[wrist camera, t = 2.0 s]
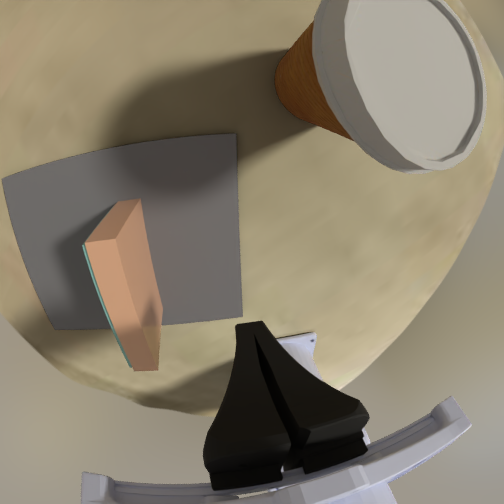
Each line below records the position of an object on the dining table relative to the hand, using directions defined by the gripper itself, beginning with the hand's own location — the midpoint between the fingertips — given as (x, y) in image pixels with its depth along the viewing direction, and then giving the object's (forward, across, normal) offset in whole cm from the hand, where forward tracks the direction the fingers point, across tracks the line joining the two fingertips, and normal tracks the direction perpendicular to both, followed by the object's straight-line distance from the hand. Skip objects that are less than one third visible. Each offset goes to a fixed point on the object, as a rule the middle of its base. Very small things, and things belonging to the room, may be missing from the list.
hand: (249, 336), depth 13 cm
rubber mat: (+10, +9, -1) cm, 13 cm away
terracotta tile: (+9, +7, 0) cm, 12 cm away
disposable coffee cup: (+10, -7, -13) cm, 18 cm away
